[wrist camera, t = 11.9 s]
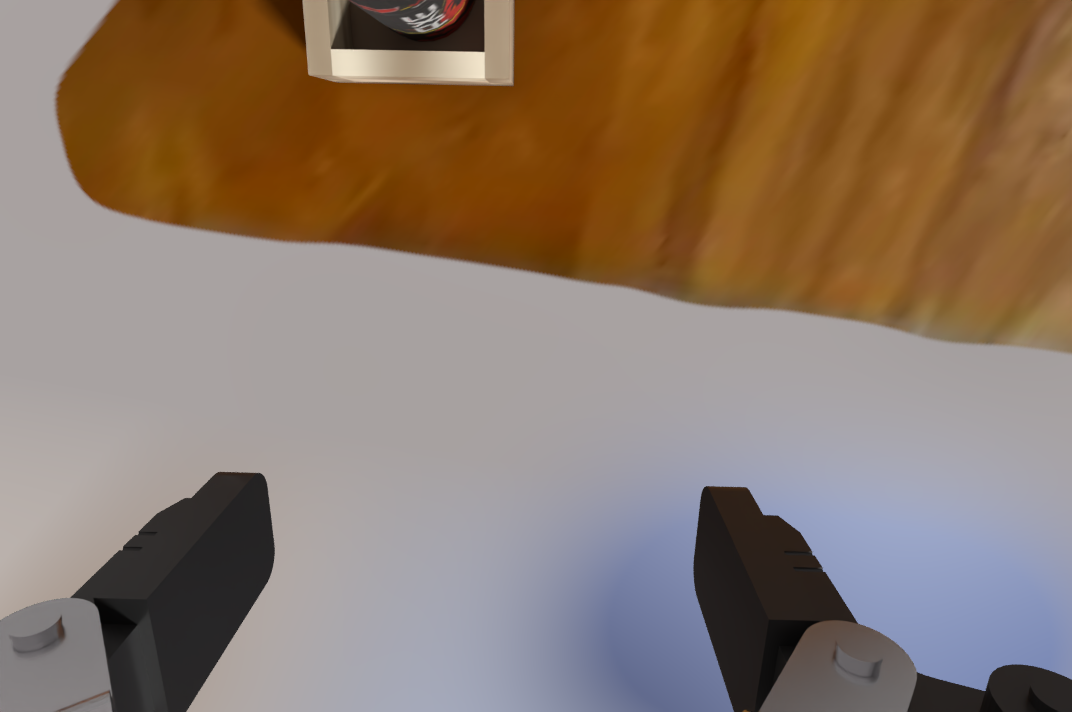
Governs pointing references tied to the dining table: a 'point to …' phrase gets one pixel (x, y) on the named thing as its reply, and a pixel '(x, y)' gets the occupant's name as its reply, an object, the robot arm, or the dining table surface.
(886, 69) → the dining table surface
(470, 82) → the white wooden box
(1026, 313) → the dining table surface
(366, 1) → the deodorant
